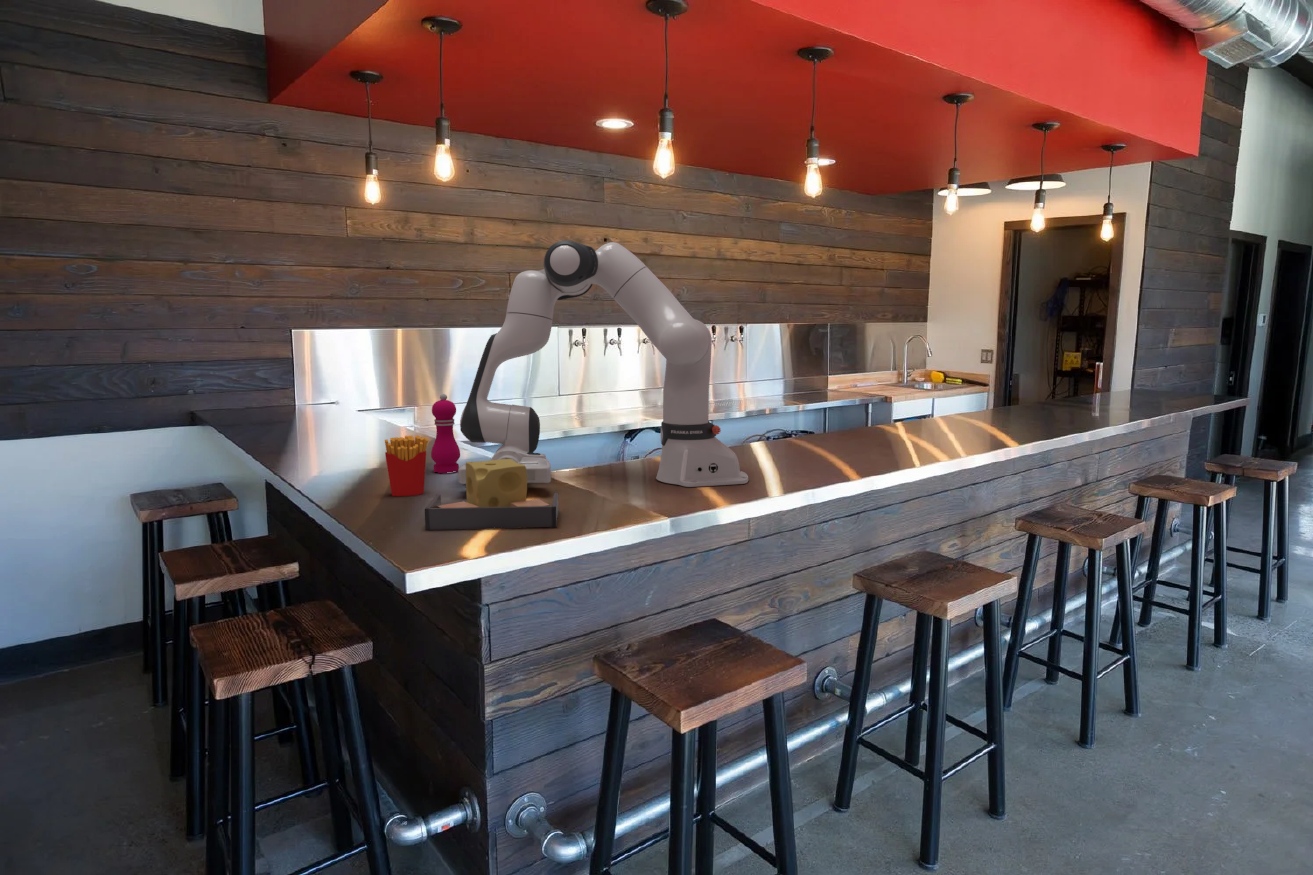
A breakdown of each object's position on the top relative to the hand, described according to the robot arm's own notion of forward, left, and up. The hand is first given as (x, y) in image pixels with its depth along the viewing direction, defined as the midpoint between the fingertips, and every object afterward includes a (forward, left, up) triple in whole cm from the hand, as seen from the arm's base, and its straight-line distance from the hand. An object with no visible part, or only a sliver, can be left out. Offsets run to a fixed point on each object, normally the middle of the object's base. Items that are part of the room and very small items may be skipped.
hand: (501, 480), depth 169 cm
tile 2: (-7, +12, -5) cm, 15 cm away
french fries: (+22, -11, -5) cm, 25 cm away
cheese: (+1, +7, -5) cm, 8 cm away
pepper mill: (+18, -36, -5) cm, 40 cm away
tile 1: (+7, +14, -5) cm, 16 cm away
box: (0, +14, -5) cm, 15 cm away
